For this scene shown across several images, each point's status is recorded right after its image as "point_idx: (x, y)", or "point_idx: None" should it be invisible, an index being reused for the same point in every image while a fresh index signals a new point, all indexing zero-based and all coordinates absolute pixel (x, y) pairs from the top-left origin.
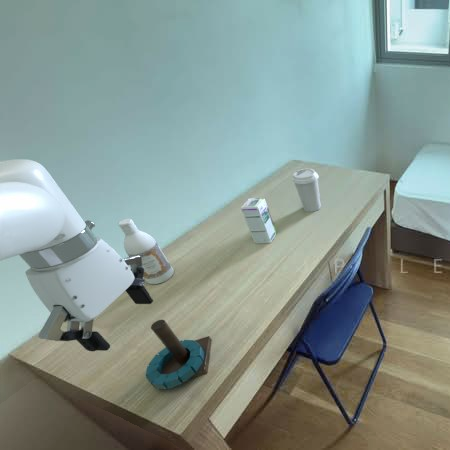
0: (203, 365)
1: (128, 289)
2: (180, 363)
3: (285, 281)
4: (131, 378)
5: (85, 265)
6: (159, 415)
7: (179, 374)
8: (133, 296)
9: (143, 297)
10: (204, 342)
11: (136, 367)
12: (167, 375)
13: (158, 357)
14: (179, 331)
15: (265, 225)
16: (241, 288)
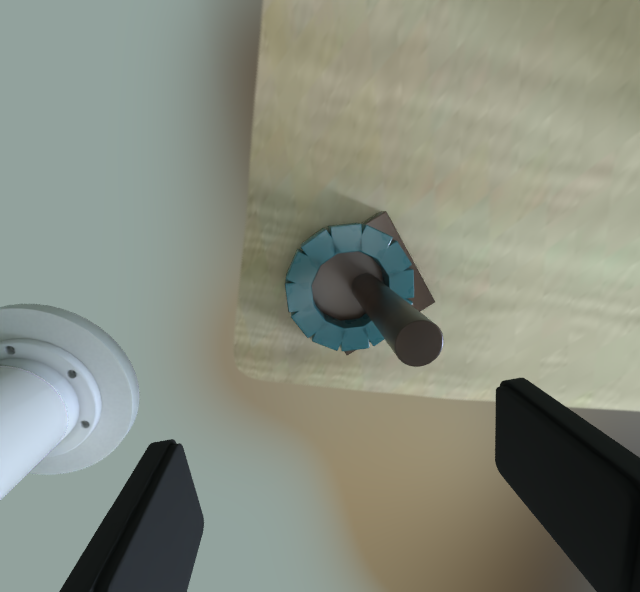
0: None
1: (632, 519)
2: (352, 290)
3: (616, 372)
4: (303, 167)
5: None
6: (243, 314)
7: (318, 335)
8: (551, 452)
9: (539, 506)
10: (415, 304)
11: (332, 152)
12: (310, 307)
13: (353, 239)
14: (448, 185)
15: None
16: (601, 264)
